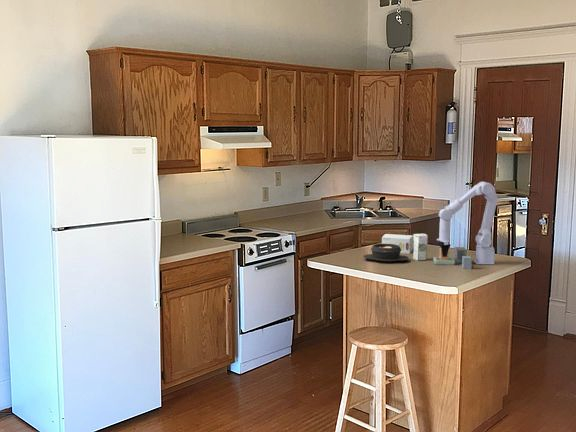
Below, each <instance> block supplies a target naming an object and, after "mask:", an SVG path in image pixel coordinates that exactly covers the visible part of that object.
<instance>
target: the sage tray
mask: <svg viewBox="0 0 576 432" xmlns="http://www.w3.org/2000/svg"><path fill="white" fill-rule="evenodd" d="M453 259H454V257H450V256H448V260H440V258H439V256H433V257H432V261H433V263H434V264H435V266H455V261H454V260H453Z"/></svg>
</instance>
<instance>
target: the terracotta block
mask: <svg viewBox="0 0 576 432" xmlns="http://www.w3.org/2000/svg"><path fill="white" fill-rule="evenodd" d="M438 257H439V258H440V260H448V257H449V253H448V254H447V257H443V256H442V249H441V247H440V246H439V256H438Z"/></svg>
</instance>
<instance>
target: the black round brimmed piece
mask: <svg viewBox="0 0 576 432" xmlns="http://www.w3.org/2000/svg"><path fill="white" fill-rule="evenodd" d="M370 251H371V253H369V254H368V253H367V254H364V255H363V256H362V257H363V258H364V259H366V260H374V261H376V262H379V263H394V262H397V261H407V260H409V256H407V255H401V253H400V252H401V249H400V246H399V245H395V244H382V243H376V244H373V245H372V246H371V248H370Z"/></svg>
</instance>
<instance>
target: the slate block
mask: <svg viewBox="0 0 576 432" xmlns="http://www.w3.org/2000/svg"><path fill="white" fill-rule="evenodd" d="M472 260H473V259H472V257H471V256H462V265H461V267H462V269H463V270H472Z"/></svg>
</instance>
